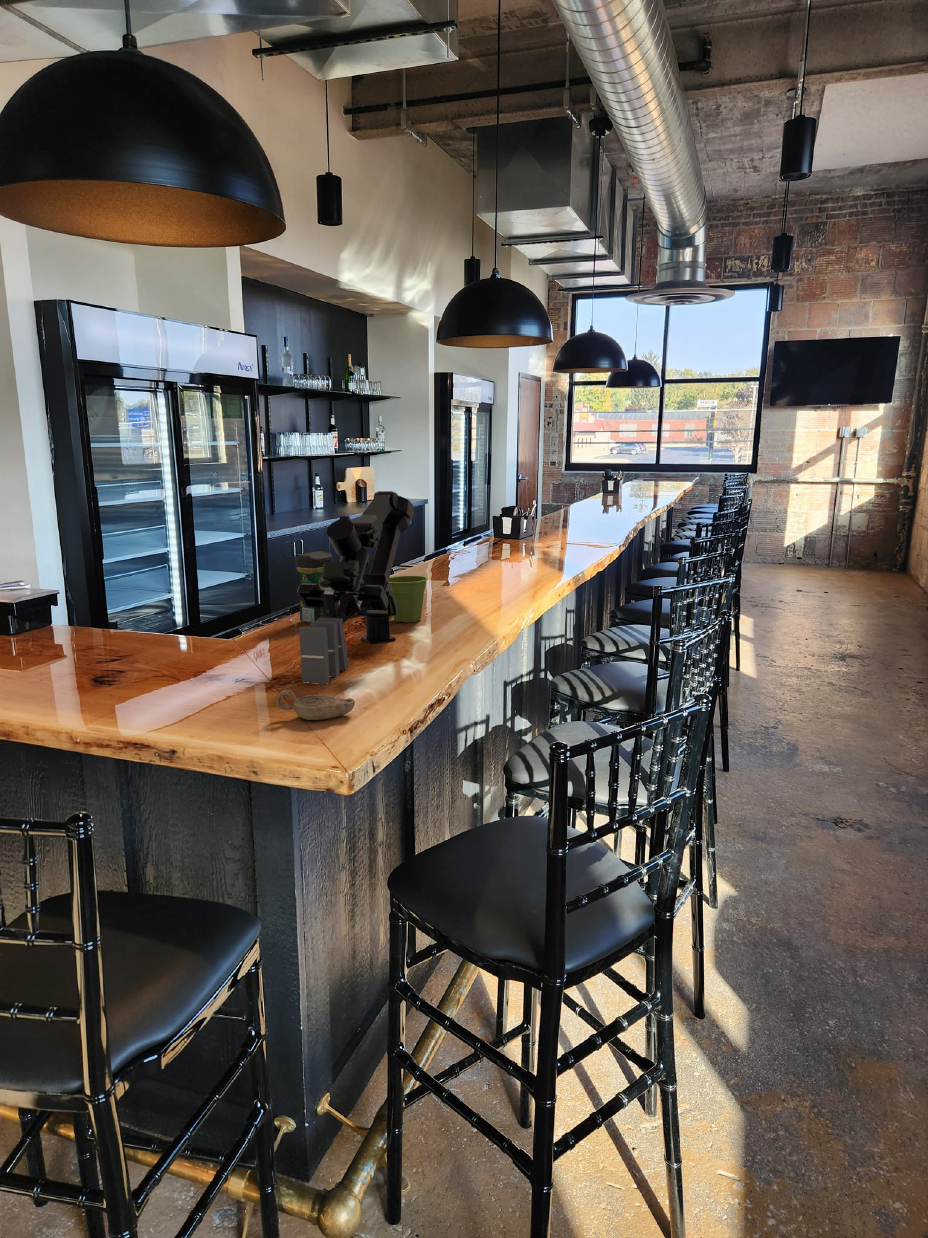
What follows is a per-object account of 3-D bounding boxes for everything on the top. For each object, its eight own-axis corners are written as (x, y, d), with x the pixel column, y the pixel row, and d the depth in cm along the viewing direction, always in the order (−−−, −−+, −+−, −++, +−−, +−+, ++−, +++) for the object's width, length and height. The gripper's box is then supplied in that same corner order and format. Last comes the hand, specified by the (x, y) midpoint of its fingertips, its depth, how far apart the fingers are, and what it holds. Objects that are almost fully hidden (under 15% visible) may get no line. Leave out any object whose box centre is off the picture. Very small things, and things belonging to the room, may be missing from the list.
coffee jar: (320, 616, 216) (317, 549, 213) (341, 619, 212) (338, 550, 208) (294, 622, 209) (290, 553, 205) (315, 626, 204) (311, 554, 200)
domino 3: (326, 665, 165) (319, 617, 160) (348, 666, 164) (342, 618, 159) (323, 669, 163) (315, 621, 159) (345, 670, 162) (339, 621, 158)
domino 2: (316, 673, 160) (313, 621, 158) (339, 675, 159) (337, 622, 157) (312, 676, 158) (309, 622, 156) (336, 677, 157) (333, 623, 155)
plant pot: (410, 613, 218) (409, 573, 215) (438, 620, 209) (437, 578, 207) (375, 620, 210) (374, 578, 208) (403, 627, 201) (402, 583, 199)
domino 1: (306, 680, 155) (303, 626, 153) (329, 682, 154) (326, 627, 152) (302, 683, 154) (298, 628, 151) (326, 684, 152) (323, 629, 150)
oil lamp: (357, 710, 138) (356, 682, 137) (352, 724, 130) (350, 695, 129) (282, 711, 138) (280, 684, 136) (273, 726, 130) (271, 697, 129)
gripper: (298, 545, 165) (276, 606, 157) (382, 546, 161) (364, 609, 152) (315, 577, 174) (296, 636, 166) (395, 579, 170) (379, 640, 162)
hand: (333, 630), depth 161 cm, fingers closed
